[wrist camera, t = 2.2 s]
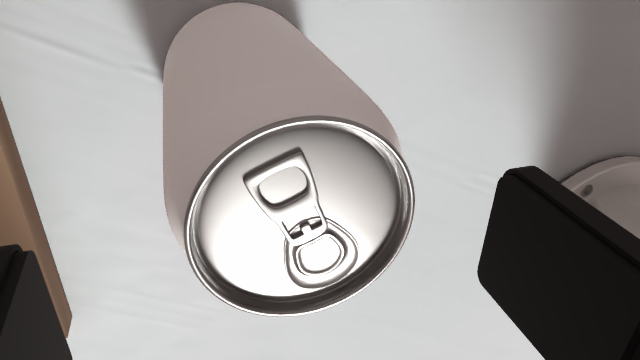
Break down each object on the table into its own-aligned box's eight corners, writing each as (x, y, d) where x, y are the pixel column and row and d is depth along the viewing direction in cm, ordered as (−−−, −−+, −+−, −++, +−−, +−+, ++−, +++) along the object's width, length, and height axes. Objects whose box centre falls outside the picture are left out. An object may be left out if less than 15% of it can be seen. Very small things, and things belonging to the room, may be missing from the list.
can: (209, 165, 23) (244, 366, 13) (131, 42, 20) (98, 187, 10) (330, 105, 23) (455, 257, 13) (275, -28, 20) (389, 43, 10)
